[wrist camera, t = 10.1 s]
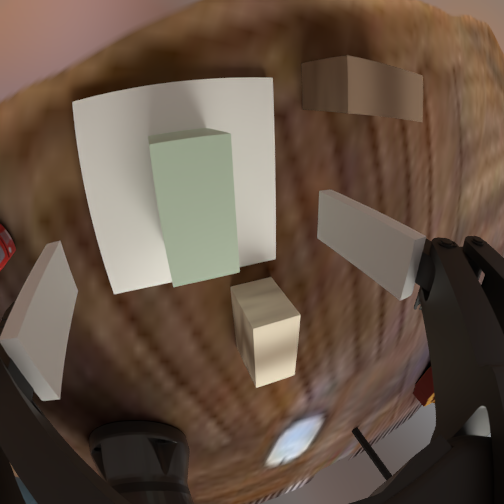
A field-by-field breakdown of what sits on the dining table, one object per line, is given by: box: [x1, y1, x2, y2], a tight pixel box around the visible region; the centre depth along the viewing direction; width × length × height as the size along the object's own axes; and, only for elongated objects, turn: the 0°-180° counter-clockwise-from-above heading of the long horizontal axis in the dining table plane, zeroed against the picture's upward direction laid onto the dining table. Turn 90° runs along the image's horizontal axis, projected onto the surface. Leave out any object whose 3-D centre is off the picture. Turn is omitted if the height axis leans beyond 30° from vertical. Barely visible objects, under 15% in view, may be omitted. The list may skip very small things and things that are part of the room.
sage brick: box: [148, 128, 240, 287], centre depth 17 cm, size 8×4×6 cm, turn 2°
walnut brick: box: [301, 55, 423, 122], centre depth 19 cm, size 8×4×6 cm, turn 92°
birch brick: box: [230, 277, 300, 388], centre depth 26 cm, size 8×4×6 cm, turn 2°
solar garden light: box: [352, 428, 392, 480], centre depth 48 cm, size 12×12×30 cm
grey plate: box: [72, 77, 276, 294], centre depth 20 cm, size 15×14×1 cm
